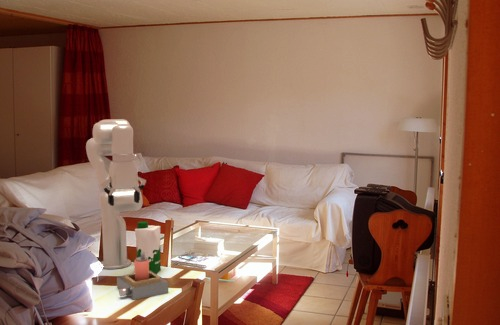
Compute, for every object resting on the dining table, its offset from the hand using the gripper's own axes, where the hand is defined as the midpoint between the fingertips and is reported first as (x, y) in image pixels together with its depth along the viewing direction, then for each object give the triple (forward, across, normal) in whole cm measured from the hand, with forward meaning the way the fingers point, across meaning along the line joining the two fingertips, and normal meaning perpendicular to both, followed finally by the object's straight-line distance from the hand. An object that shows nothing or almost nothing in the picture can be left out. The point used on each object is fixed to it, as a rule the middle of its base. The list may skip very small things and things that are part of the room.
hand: (124, 203), depth 205 cm
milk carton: (+30, -11, -4) cm, 32 cm away
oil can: (+28, 0, +16) cm, 32 cm away
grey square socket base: (+29, +1, +16) cm, 33 cm away
